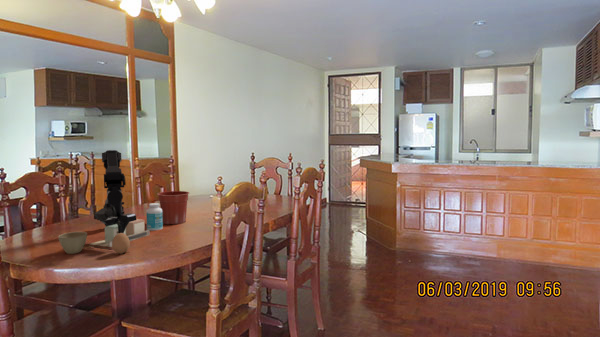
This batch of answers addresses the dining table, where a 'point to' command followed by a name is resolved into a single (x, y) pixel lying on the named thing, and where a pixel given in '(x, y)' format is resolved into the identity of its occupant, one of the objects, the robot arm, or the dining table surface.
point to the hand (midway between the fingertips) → (115, 236)
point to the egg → (120, 243)
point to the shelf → (131, 237)
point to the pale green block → (111, 232)
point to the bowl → (73, 241)
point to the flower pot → (173, 206)
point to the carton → (135, 227)
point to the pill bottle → (154, 217)
